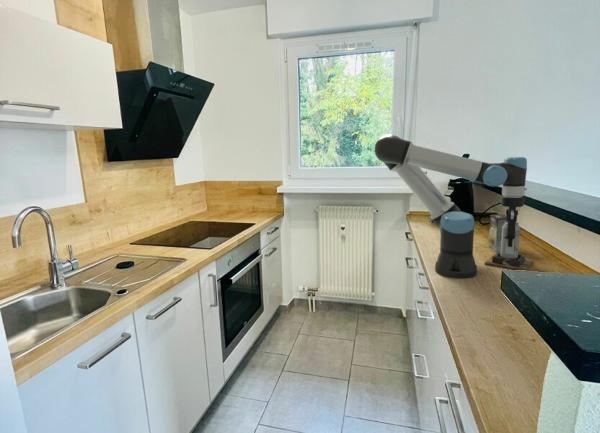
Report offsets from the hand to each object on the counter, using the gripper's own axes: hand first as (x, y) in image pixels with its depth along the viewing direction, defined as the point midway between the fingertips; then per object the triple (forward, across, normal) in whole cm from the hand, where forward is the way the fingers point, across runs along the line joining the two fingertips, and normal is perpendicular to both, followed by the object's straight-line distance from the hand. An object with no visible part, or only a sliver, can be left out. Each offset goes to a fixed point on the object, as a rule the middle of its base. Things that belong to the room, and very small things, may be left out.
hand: (509, 251), depth 130 cm
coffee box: (+6, +21, +4) cm, 22 cm away
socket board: (+5, 0, 0) cm, 5 cm away
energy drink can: (+3, 0, 0) cm, 3 cm away
